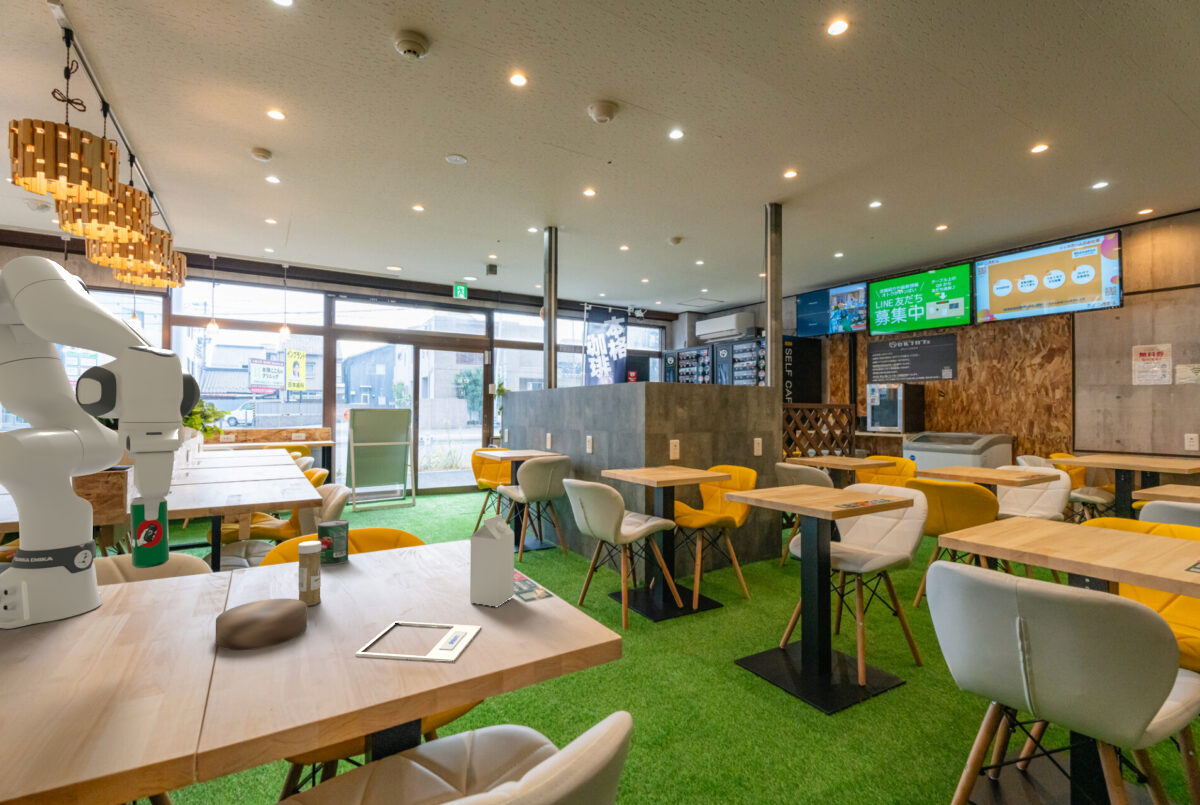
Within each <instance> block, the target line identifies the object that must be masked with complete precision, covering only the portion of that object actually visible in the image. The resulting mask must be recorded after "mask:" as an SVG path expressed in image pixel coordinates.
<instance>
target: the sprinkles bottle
mask: <svg viewBox="0 0 1200 805" xmlns="http://www.w3.org/2000/svg"><path fill="white" fill-rule="evenodd" d="M297 546H298V547H297V549H298V550H297V553H298V600H301V601H303V602H305V603H306V604H307V607H311V606H315V605H317V604H319V603H321V601H322V599H321V586H322V585H321V578H322V577H321V575H322V573H321V569H322V568H321V565H320V552H321V542H320V541H318V540H308V541H303V542H301V543H298V545H297Z"/></svg>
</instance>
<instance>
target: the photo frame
mask: <svg viewBox="0 0 1200 805" xmlns="http://www.w3.org/2000/svg"><path fill="white" fill-rule="evenodd" d="M395 623H401V624H400V626H401V625H413V626H412V627H419V626H437V627H453V628H450V630H449V631H448V632H447V633H446V634H445V635H444V636H443V637H442V638H441V639H440V641H438V642H437V643H436V644H435V645H434V647H433V648H432V649H431V650H430V651H429V652H428V653H427V655H413V654H412V655H411V654H399V653H398V654H396V653H382V652H366V651H364V650H365V649H366V648H368V647H369V646H370V645H371V644H373V642H375V641H376V640H377V639H379V638H380V637H381V636H382V635H384V633H386V632H387V631H388V630H390V629H391V628H392V627H394V625H396V624H395ZM417 625H418V626H417ZM437 627H436V628H437ZM480 628H481V629H482V625H472V624H471V625H470V624H452V623H451V624H450V623H435V622H434V623H433V622H417V621H415V622H414V621H402V620H401V621H400V620H398V621H397V620H395V621H394V622H391V624H389V625H388V626H387V627H386V628H385V629H383V630H382V631H381V632H380V633H379V634H377V635H376V636H374V638H372V639H371V640H369V642H367V643H366V644H364V646H362V647H361V648H360V649H358V650H357V651H356V652H355V654H354V657H358V658H359V657H360V658H375V659H390V660H391V659H393V660H406V659H408V660H409V661H410V659H411V661H422V660H447V661H448V660H452V661H454V660H455V659H456V658H457V656H458V655H459V654H460V653H461V652H462V650H463V649H464V648H465V647H466V646H467V644H468V643H469V642H470V641H471V639H472V638H473V637H474V636H475V635H476V633H477V632H478V631H479V630H480ZM480 631H481V630H480ZM480 631H479V632H480ZM479 632H478V633H479ZM478 633H477V634H478ZM476 636H477V635H476ZM476 636H475V637H476ZM475 637H474V638H475ZM474 638H473V639H474ZM473 639H472V640H473ZM471 642H472V641H471ZM471 642H470V643H471ZM470 643H469V644H470ZM469 644H468V645H469ZM467 647H468V646H467ZM467 647H466V648H467ZM466 648H465V649H466ZM465 649H464V650H465ZM462 653H463V652H462ZM462 653H461V654H462ZM461 654H460V655H461ZM457 659H458V658H457ZM457 659H456V660H457ZM456 660H455V661H456Z"/></svg>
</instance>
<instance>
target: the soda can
mask: <svg viewBox="0 0 1200 805" xmlns="http://www.w3.org/2000/svg"><path fill="white" fill-rule="evenodd" d="M129 508H130V509H129V510H130V533H131V534H130V537H131V561H132V562H131V565H132V567H133V568H135V569H148V568H154V567H159V566H162V565H165V564H167V562H168V561H169V560H170V542H169V514H168V500H167V499H166V498H165V497H160V504H159V509H158V518H157V519H156V520H149V521H147V520H145V518H144V509H145V508H144V498H142V497H141V496H137V497H134V498H132V502H131V503H130V505H129Z"/></svg>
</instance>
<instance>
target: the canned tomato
mask: <svg viewBox="0 0 1200 805" xmlns="http://www.w3.org/2000/svg"><path fill="white" fill-rule="evenodd" d="M349 524H350V521H349V520H348V519H347V520H346V519H331V520H328V519H327V520H323V521H320V522H318V523H317V541H320V542H321V552H320V566H323V565H329V566H335V564H338V565H340V564H339V563H342V564H344V562H345V563H347V562H348V561H349V538H350V537H349V529H350V526H349ZM346 561H347V562H346Z"/></svg>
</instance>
